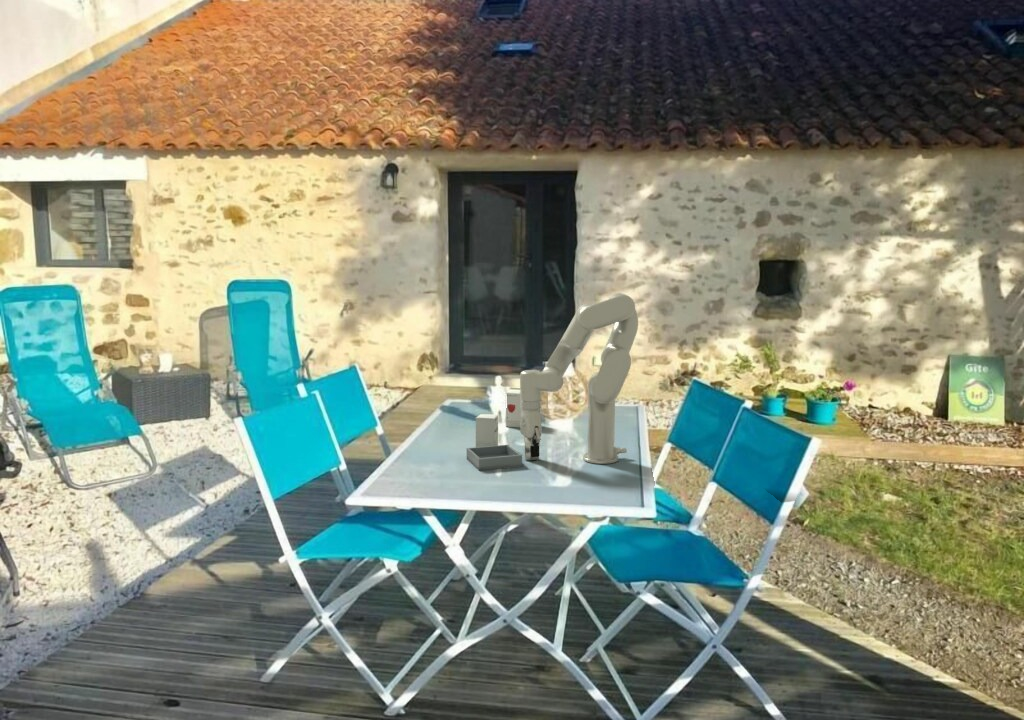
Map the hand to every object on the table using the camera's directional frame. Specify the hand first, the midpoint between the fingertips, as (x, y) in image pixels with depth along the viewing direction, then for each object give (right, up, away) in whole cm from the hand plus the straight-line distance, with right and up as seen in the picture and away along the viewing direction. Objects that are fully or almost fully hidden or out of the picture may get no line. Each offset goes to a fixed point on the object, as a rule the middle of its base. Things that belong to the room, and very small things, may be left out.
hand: (532, 454), depth 275 cm
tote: (-14, -3, -4) cm, 14 cm away
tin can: (0, -1, 0) cm, 2 cm away
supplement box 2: (-5, +5, +54) cm, 55 cm away
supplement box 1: (-17, 0, +16) cm, 23 cm away
